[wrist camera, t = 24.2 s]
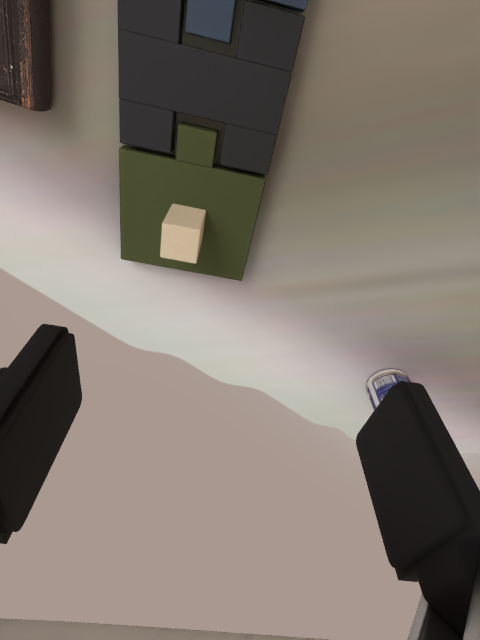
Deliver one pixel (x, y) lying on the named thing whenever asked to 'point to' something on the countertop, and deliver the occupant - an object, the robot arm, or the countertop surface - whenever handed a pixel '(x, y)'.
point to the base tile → (205, 79)
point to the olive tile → (189, 189)
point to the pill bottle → (383, 384)
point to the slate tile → (223, 16)
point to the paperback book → (25, 53)
